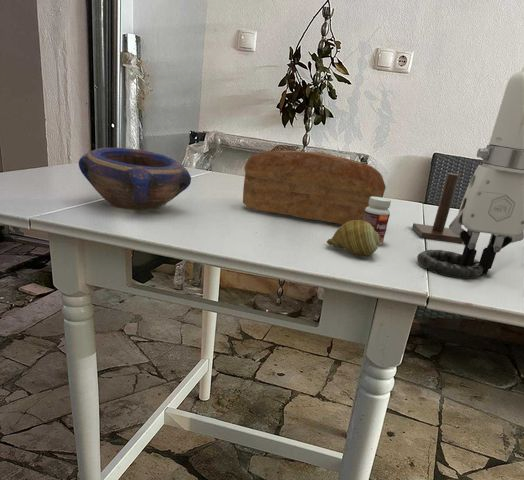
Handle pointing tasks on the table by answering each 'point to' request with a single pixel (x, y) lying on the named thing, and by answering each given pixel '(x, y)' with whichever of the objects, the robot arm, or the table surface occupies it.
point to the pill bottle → (378, 215)
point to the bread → (310, 185)
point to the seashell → (356, 238)
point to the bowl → (134, 177)
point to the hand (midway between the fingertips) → (473, 270)
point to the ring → (437, 263)
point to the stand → (441, 215)
